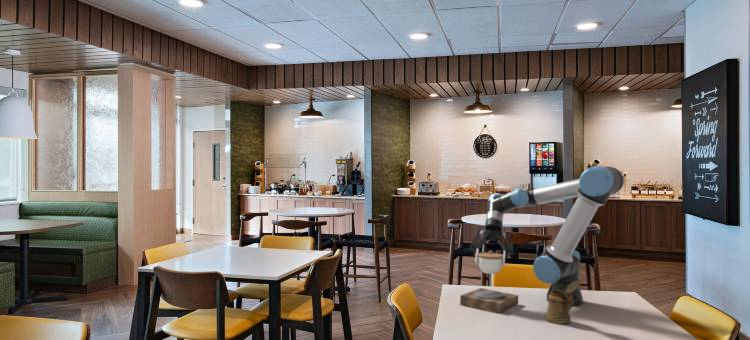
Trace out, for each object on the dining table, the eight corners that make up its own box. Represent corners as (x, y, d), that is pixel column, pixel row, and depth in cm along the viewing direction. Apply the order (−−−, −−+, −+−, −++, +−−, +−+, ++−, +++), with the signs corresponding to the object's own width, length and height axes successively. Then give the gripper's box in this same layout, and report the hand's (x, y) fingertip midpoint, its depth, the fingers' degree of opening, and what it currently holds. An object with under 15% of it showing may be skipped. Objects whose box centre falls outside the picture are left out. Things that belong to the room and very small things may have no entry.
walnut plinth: (518, 304, 219) (518, 294, 219) (499, 313, 205) (499, 302, 205) (480, 296, 230) (480, 287, 230) (460, 304, 216) (460, 294, 216)
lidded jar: (476, 274, 213) (477, 251, 213) (477, 269, 224) (478, 247, 224) (503, 276, 211) (503, 253, 211) (502, 270, 221) (503, 249, 221)
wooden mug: (568, 329, 187) (569, 280, 187) (540, 318, 199) (541, 273, 198) (584, 326, 191) (586, 278, 191) (556, 316, 203) (557, 271, 203)
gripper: (520, 230, 228) (518, 271, 213) (468, 226, 235) (462, 266, 221) (520, 219, 223) (517, 261, 208) (467, 216, 230) (461, 256, 216)
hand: (489, 264), depth 215 cm, fingers closed on lidded jar, 11 cm apart
